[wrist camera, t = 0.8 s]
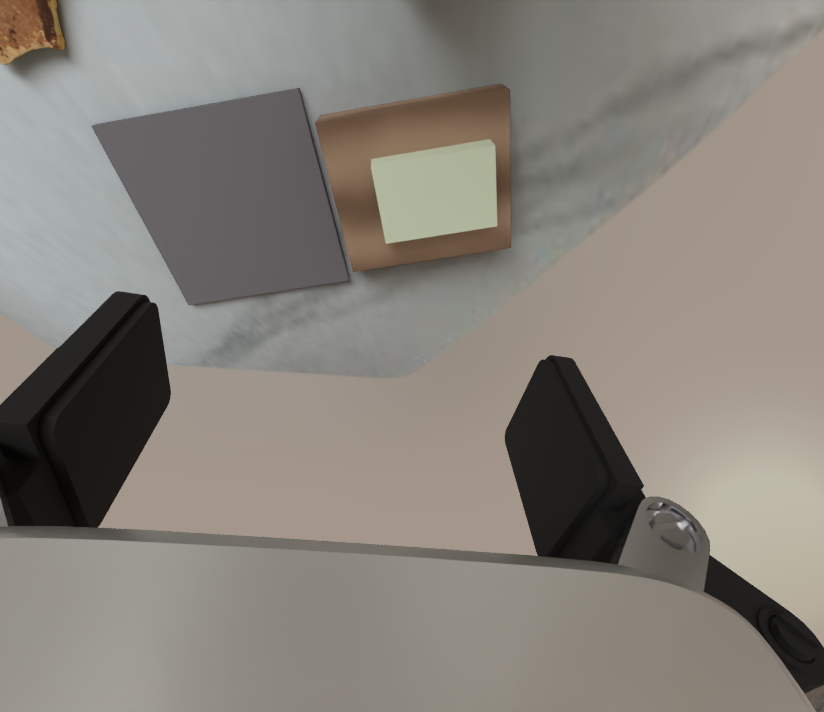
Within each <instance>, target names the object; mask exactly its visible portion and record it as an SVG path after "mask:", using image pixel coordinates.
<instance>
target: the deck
mask: <svg viewBox="0 0 824 712" xmlns="http://www.w3.org/2000/svg"><path fill="white" fill-rule="evenodd" d="M315 125H316V129H317V133H318V137H319V141H320V145H321V149H322V152H323V156H324V160H325V164H326V168H327V172H328V176H329V180H330V184H331V188H332V192H333V196H334V199H335V203H336V207H337V211H338V215H339V219H340V223H341V227H342V231H343V235H344V239H345V243H346V246H347V250H348V254H349V258H350V262H351V266H352V270H353V272H357V271H363V270H370V269H376V268H383V267H389V266H396V265H402V264H409V263H415V262H421V261H428V260H434V259H441V258H447V257H454V256H460V255H467V254H473V253H479V252H486V251H492V250H499V249H505V248H511V187H510V89H509V88H507V87H506V86H504V85H502V84H497V85H491V86H485V87H480V88H474V89H468V90H462V91H457V92H451V93H445V94H440V95H434V96H428V97H422V98H417V99H411V100H405V101H400V102H394V103H388V104H382V105H377V106H371V107H365V108H360V109H354V110H348V111H343V112H337V113H331V114H325V115H320V116H319V118H318V119H317V121H316V123H315ZM488 139H490V140H491V141H492V142H493V143H494V145H495V151H496V191H497V226H496V227H490V228H484V229H477V230H471V231H465V232H458V233H452V234H446V235H439V236H433V237H427V238H420V239H414V240H408V241H401V242H395V243H389V244H386V243H385V237H384V232H383V227H382V222H381V217H380V212H379V207H378V202H377V196H376V191H375V186H374V181H373V176H372V171H371V159H375V158H381V157H387V156H393V155H399V154H405V153H411V152H416V151H422V150H428V149H434V148H440V147H446V146H452V145H458V144H464V143H470V142H476V141H482V140H488Z"/></svg>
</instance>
